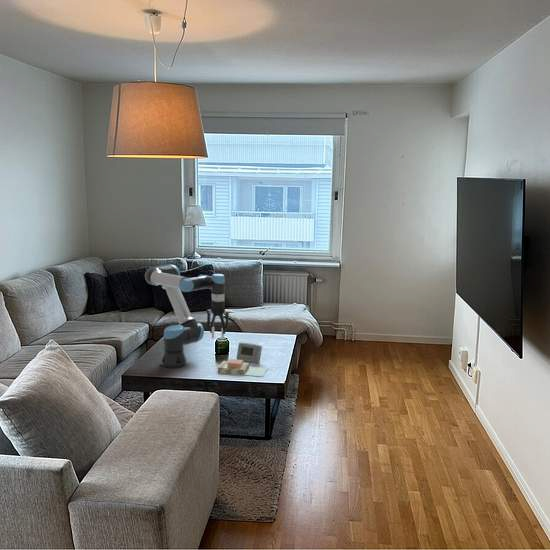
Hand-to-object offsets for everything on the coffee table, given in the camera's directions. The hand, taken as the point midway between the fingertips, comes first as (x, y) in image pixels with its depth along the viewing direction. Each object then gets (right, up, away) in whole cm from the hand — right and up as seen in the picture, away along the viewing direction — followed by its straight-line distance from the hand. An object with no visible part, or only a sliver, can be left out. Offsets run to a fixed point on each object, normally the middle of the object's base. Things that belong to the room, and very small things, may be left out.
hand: (217, 338), depth 324 cm
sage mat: (+23, -20, -1) cm, 30 cm away
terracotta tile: (+10, -16, +1) cm, 19 cm away
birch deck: (+9, -19, +2) cm, 21 cm away
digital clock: (+18, -16, +19) cm, 31 cm away
